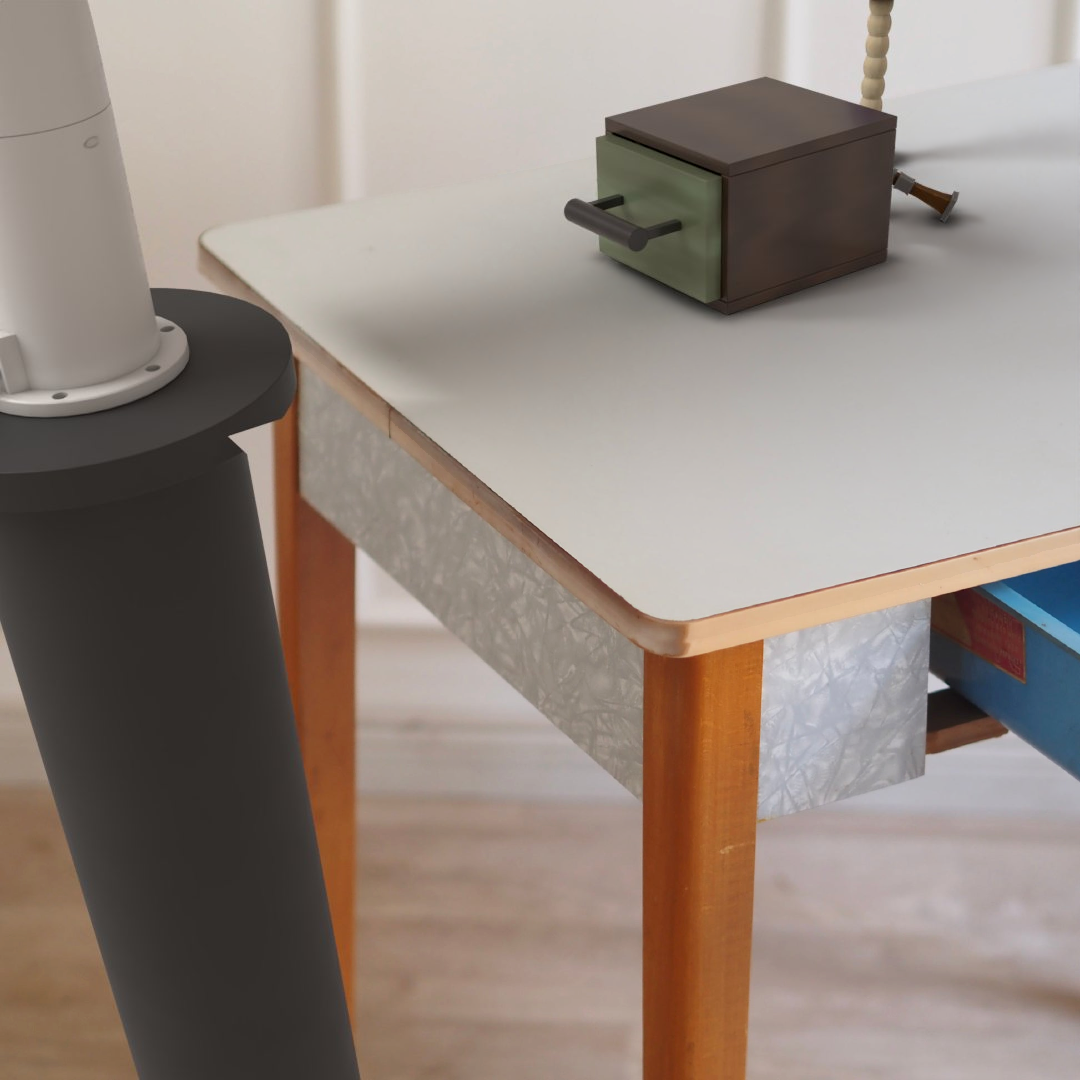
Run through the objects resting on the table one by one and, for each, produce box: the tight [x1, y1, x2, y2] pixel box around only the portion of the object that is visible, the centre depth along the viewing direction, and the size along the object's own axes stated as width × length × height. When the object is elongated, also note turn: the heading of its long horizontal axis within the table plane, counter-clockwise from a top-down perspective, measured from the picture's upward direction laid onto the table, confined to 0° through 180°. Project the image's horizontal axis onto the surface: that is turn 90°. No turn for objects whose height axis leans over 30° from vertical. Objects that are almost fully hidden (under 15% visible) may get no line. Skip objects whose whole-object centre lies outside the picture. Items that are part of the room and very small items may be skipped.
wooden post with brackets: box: [892, 167, 960, 223], centre depth 105 cm, size 2×8×4 cm, turn 72°
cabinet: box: [604, 75, 898, 315], centre depth 98 cm, size 14×13×10 cm
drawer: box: [563, 134, 722, 304], centre depth 96 cm, size 17×11×8 cm
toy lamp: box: [858, 0, 895, 112], centre depth 111 cm, size 5×5×17 cm
